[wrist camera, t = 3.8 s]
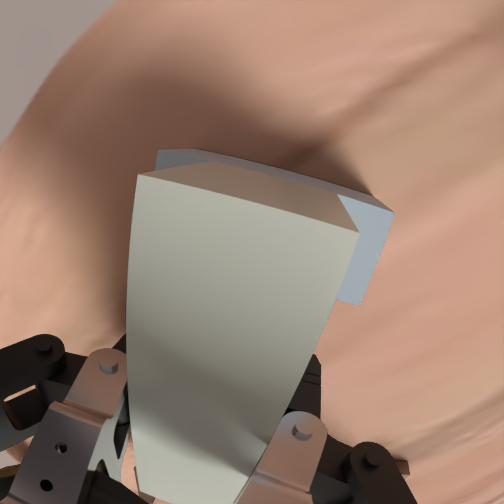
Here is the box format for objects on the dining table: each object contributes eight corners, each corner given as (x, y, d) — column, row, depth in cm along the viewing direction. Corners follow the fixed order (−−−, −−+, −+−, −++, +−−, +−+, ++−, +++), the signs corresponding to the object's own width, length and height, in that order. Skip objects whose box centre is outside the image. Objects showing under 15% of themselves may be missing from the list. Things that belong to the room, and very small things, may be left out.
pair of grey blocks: (373, 196, 11) (394, 212, 8) (284, 415, 15) (277, 458, 12) (193, 148, 11) (157, 150, 8) (162, 377, 15) (139, 413, 13)
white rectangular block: (336, 193, 8) (359, 233, 4) (242, 450, 12) (221, 519, 8) (212, 161, 8) (138, 174, 5) (172, 427, 13) (139, 490, 9)
